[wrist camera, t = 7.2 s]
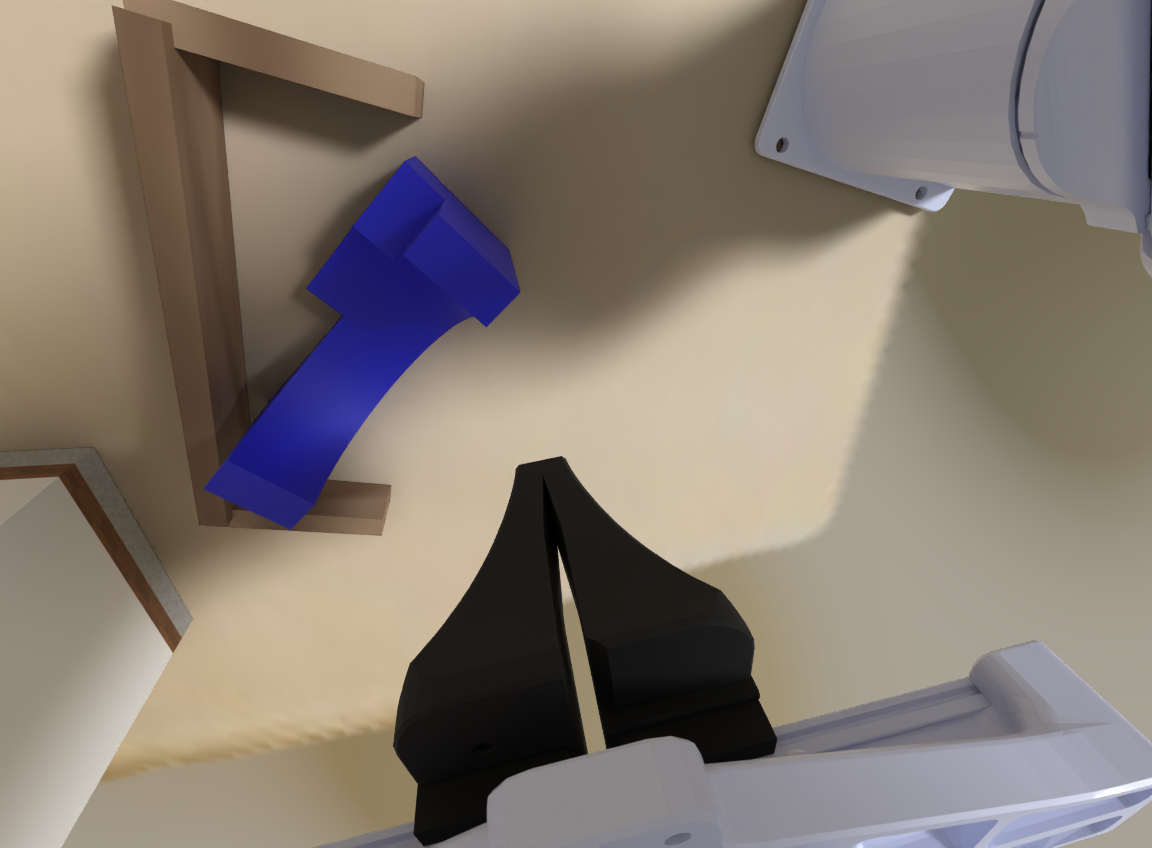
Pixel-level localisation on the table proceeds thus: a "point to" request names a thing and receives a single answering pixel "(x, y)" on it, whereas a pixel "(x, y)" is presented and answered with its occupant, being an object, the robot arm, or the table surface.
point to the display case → (71, 636)
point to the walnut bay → (223, 223)
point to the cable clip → (368, 336)
